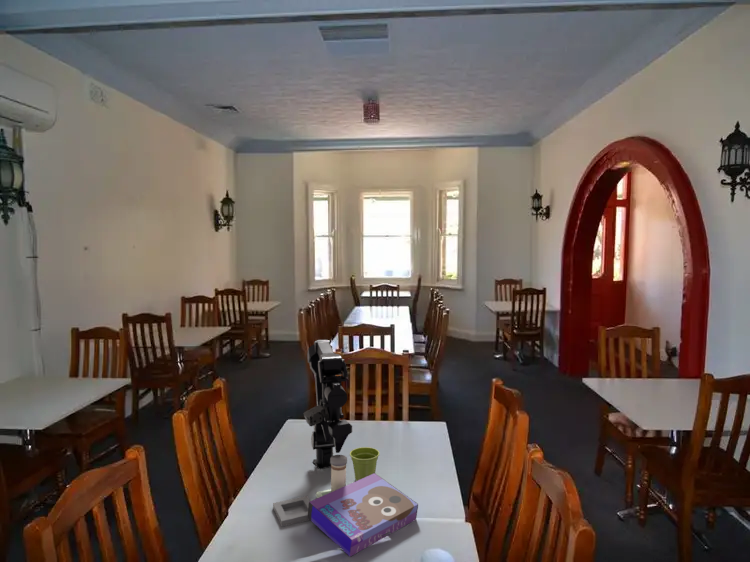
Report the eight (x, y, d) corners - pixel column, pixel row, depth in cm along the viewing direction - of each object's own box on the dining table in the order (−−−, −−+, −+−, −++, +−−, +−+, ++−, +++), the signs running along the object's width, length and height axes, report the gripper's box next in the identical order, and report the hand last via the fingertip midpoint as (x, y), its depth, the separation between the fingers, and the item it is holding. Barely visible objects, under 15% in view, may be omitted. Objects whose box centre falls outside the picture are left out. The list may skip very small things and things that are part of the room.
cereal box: (418, 504, 143) (351, 540, 127) (416, 519, 144) (349, 557, 128) (374, 472, 155) (308, 502, 139) (373, 487, 156) (307, 518, 140)
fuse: (326, 501, 152) (326, 458, 150) (338, 495, 155) (339, 453, 154) (337, 507, 149) (338, 463, 147) (349, 501, 152) (350, 458, 151)
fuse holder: (273, 511, 148) (273, 503, 148) (307, 503, 152) (307, 495, 152) (281, 530, 139) (281, 521, 139) (318, 521, 143) (317, 512, 143)
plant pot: (345, 475, 170) (345, 449, 169) (372, 470, 173) (372, 444, 172) (356, 488, 161) (356, 461, 160) (384, 482, 165) (384, 456, 164)
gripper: (297, 392, 164) (298, 440, 166) (315, 410, 147) (316, 464, 149) (331, 387, 169) (332, 434, 170) (352, 405, 152) (353, 457, 153)
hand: (332, 446), depth 161 cm, fingers open, 9 cm apart
